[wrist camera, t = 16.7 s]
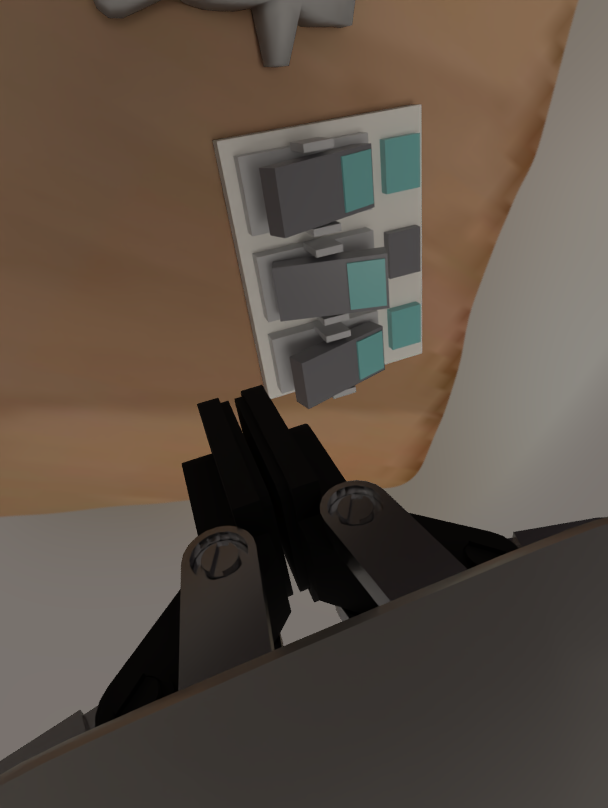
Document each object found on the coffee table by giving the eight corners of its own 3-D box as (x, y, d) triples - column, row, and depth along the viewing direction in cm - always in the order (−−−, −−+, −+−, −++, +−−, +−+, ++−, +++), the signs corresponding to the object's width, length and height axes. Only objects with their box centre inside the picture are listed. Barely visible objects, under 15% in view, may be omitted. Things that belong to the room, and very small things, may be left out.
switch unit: (212, 140, 33) (229, 143, 28) (410, 104, 36) (453, 103, 32) (264, 391, 44) (283, 422, 39) (413, 347, 47) (445, 371, 43)
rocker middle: (272, 261, 35) (271, 269, 34) (384, 246, 35) (387, 253, 33) (281, 313, 37) (280, 322, 36) (386, 300, 37) (389, 309, 35)
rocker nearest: (258, 167, 29) (275, 168, 28) (354, 143, 33) (372, 143, 32) (270, 235, 32) (286, 238, 30) (358, 205, 35) (375, 207, 34)
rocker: (289, 356, 37) (302, 364, 35) (369, 320, 40) (383, 326, 39) (296, 401, 39) (309, 409, 38) (371, 363, 42) (385, 370, 41)
